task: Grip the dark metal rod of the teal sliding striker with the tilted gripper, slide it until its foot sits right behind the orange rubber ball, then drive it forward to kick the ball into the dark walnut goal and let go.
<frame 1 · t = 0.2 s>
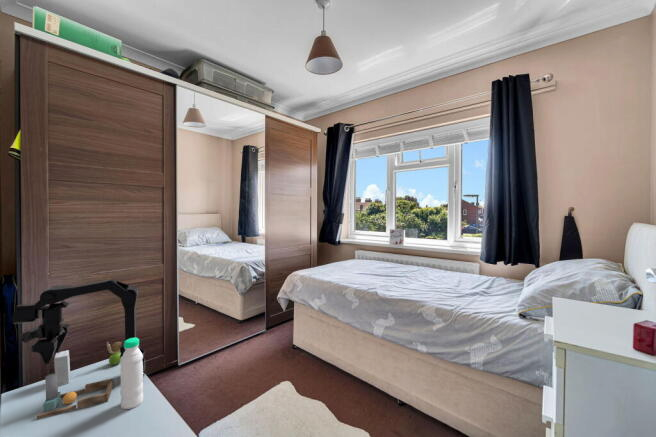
hand: (51, 357, 110), 15 cm above the table, tool pointing down, fingers open, 9 cm apart
skincare box: (62, 382, 118), on the table
striker: (51, 390, 103), point 6 cm above the table, slide at 0.0 cm
ball: (69, 397, 106), point 2 cm above the table
water bottle: (132, 403, 106), on the table
snail figurine: (115, 364, 132), on the table
goal: (96, 396, 110), on the table
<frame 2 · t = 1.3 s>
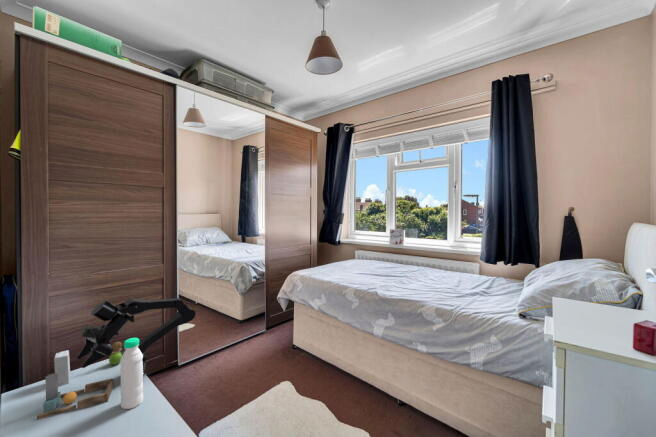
hand: (80, 363, 109), 13 cm above the table, tool tilted 45°, fingers open, 9 cm apart
nothing on the table moved.
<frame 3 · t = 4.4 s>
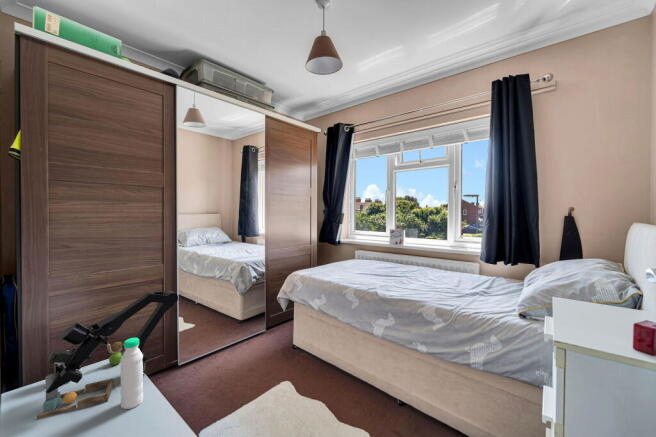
hand: (46, 390, 102), 7 cm above the table, tool tilted 45°, fingers closed on striker, 3 cm apart
striker: (51, 390, 103), point 6 cm above the table, slide at 0.0 cm, touching gripper
everything else where it was.
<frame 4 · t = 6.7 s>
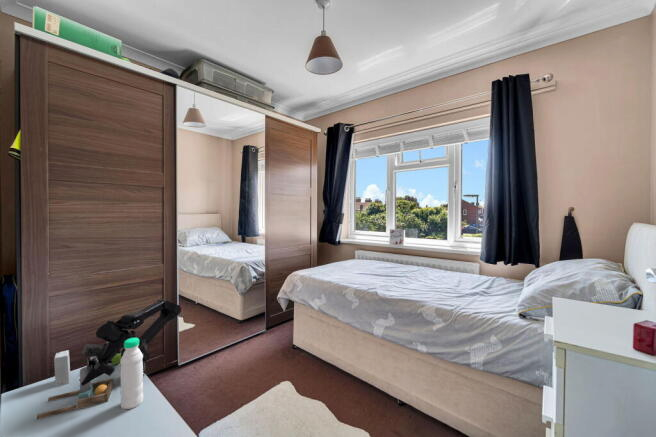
hand: (80, 382, 107), 7 cm above the table, tool tilted 45°, fingers closed on striker, 3 cm apart
striker: (85, 383, 108), point 6 cm above the table, slide at 9.7 cm, touching gripper
ball: (101, 390, 110), point 2 cm above the table, tilted 90°
everything else where it was.
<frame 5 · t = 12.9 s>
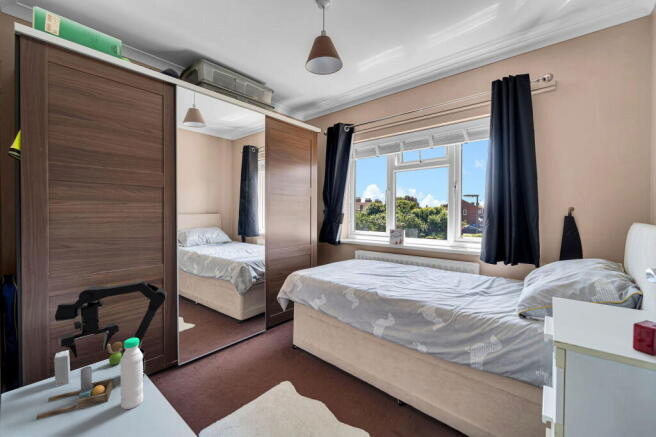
hand: (90, 353, 117), 13 cm above the table, tool pointing down, fingers open, 9 cm apart
striker: (86, 383, 108), point 6 cm above the table, slide at 9.9 cm
ball: (98, 391, 110), point 2 cm above the table, tilted 118°
everything else where it was.
at the end: ball inside the target area on the goal (0.2 cm from its centre), point 2.0 cm above the goal's base; striker slide at 9.9 cm; the gripper is holding nothing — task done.
